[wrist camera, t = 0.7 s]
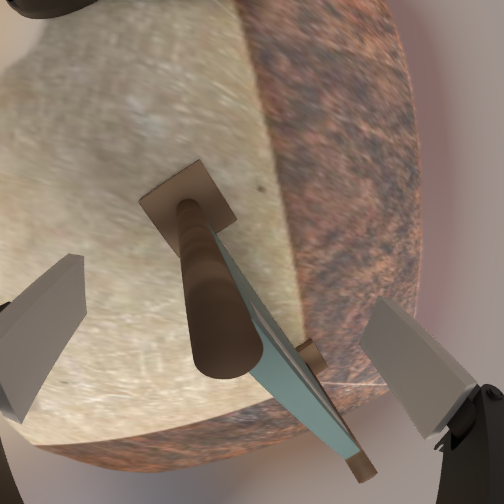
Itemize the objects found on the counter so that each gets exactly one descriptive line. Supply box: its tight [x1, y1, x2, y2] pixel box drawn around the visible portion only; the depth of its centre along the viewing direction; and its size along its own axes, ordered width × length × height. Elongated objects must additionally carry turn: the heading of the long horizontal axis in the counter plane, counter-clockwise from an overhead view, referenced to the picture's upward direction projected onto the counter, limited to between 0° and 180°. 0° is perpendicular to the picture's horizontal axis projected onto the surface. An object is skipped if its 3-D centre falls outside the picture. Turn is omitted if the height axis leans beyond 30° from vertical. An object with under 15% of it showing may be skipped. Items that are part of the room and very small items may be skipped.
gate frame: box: [139, 160, 377, 483], centre depth 21 cm, size 30×6×18 cm, turn 29°
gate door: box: [207, 222, 360, 459], centre depth 22 cm, size 21×2×14 cm, turn 29°
